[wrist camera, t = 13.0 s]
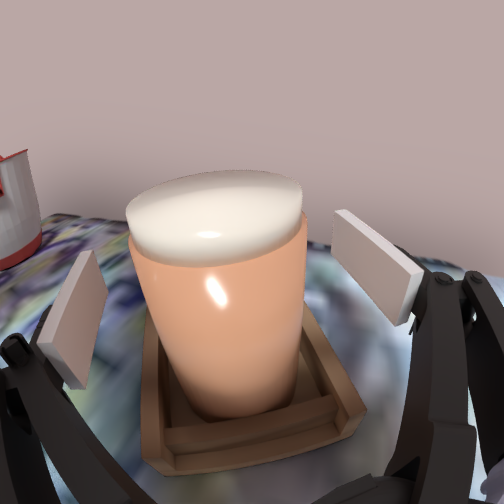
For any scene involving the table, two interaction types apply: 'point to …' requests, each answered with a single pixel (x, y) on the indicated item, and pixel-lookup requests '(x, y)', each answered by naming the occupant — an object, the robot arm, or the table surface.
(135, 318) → the table surface
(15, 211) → the citrus juicer
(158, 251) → the jar
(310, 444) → the tray
